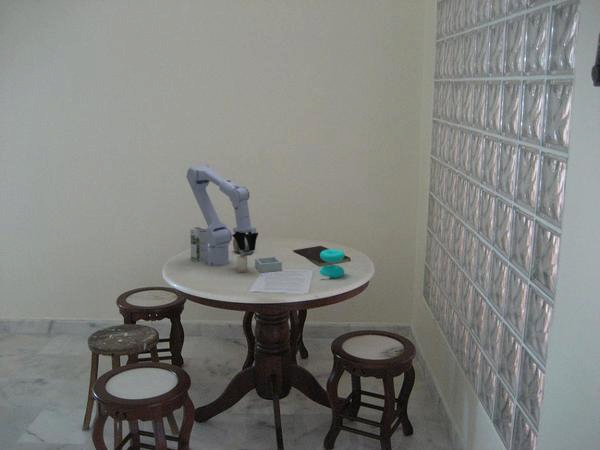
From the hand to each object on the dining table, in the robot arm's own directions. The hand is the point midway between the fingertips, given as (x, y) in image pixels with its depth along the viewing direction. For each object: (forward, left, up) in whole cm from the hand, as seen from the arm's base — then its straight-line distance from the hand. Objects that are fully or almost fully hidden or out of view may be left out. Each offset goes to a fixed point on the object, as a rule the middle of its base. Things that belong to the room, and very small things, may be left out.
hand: (247, 250), depth 271 cm
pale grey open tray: (+9, 0, -9) cm, 12 cm away
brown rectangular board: (+4, 0, -10) cm, 11 cm away
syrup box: (-15, +26, -10) cm, 32 cm away
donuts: (+32, -14, -10) cm, 36 cm away
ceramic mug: (+7, +31, -10) cm, 34 cm away
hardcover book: (+37, +12, -11) cm, 40 cm away
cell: (-2, 0, -9) cm, 9 cm away
